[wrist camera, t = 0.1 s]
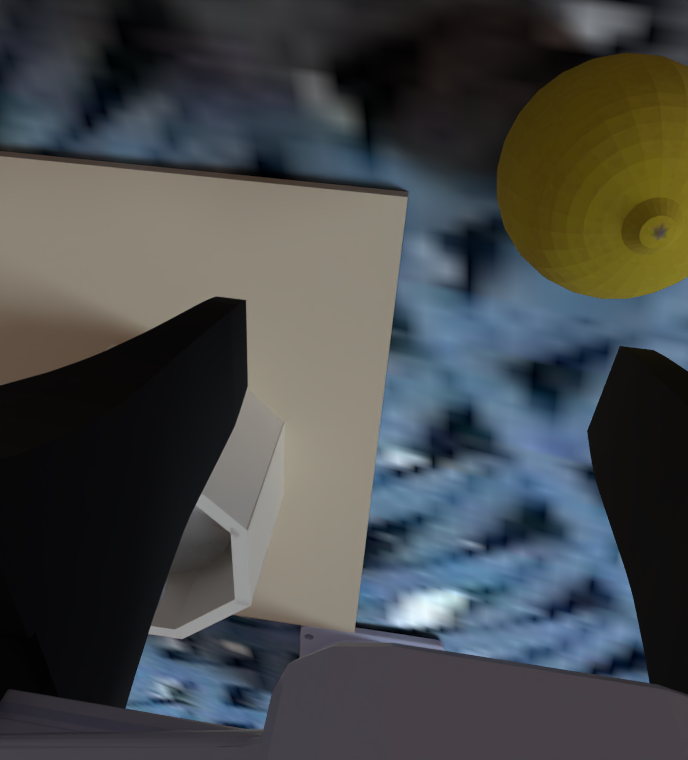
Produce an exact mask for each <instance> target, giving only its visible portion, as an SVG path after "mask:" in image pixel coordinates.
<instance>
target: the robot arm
mask: <svg viewBox="0 0 688 760" xmlns="http://www.w3.org/2000/svg"><path fill="white" fill-rule="evenodd" d="M247 387H248V367H247V321H246V300H242V299H234V298H226V297H218V296H215V297H213V298H210V299H208V300H206V301H204V302H202V303H200V304H198V305H196V306H194V307H192V308H190V309H188V310H186V311H184V312H183V313H181V314H179V315H177V316H175V317H173V318H171V319H169V320H168V321H166V322H164V323H162V324H160V325H158V326H156V327H154V328H152V329H150V330H149V331H147V332H145V333H142V334H140V335H138V336H136V337H134V338H132V339H130V340H127V341H125V342H123V343H121V344H119V345H117V346H115V347H112V348H110V349H108V350H106V351H104V352H101V353H99V354H96V355H94V356H91V357H89V358H86V359H84V360H81V361H78V362H76V363H73V364H70V365H67V366H64V367H62V368H59V369H56V370H53V371H50V372H47V373H43V374H40V375H36V376H32V377H29V378H25V379H22V380H18V381H14V382H11V383H7V384H3V385H0V760H688V371H686V370H685V369H683V368H682V367H680V366H679V365H677V364H676V363H674V362H673V361H671V360H670V359H668V358H667V357H665V356H663V355H661V354H660V353H658V352H656V351H654V350H647V349H639V348H631V347H623V346H620V347H619V350H618V353H617V355H616V358H615V360H614V363H613V366H612V368H611V371H610V373H609V376H608V379H607V381H606V384H605V386H604V389H603V392H602V394H601V397H600V399H599V402H598V405H597V407H596V410H595V412H594V415H593V418H592V420H591V423H590V425H589V428H588V431H587V432H588V440H589V447H590V454H591V460H592V465H593V471H594V476H595V479H596V482H597V486H598V489H599V492H600V495H601V498H602V501H603V504H604V507H605V510H606V513H607V516H608V519H609V522H610V525H611V528H612V531H613V534H614V537H615V540H616V543H617V546H618V549H619V552H620V555H621V558H622V561H623V564H624V567H625V570H626V573H627V577H628V580H629V584H630V587H631V591H632V595H633V599H634V603H635V608H636V613H637V618H638V623H639V628H640V633H641V637H642V642H643V647H644V653H645V659H646V665H647V670H648V676H649V682H650V683H645V682H638V681H632V680H626V679H619V678H613V677H607V676H600V675H594V674H588V673H581V672H575V671H569V670H562V669H556V668H550V667H543V666H537V665H531V664H524V663H518V662H512V661H505V660H499V659H493V658H486V657H480V656H474V655H467V654H461V653H455V652H448V651H444V644H443V642H441V641H439V640H436V639H429V638H422V637H416V636H409V635H403V634H396V633H389V632H383V631H376V630H370V629H363V628H356V627H355V632H354V633H349V632H343V631H336V630H329V629H323V628H316V627H310V626H303V625H301V630H300V657H299V658H298V659H296V660H294V661H292V662H290V663H288V664H287V666H286V668H285V670H284V671H283V673H282V675H281V677H280V679H279V681H278V682H277V684H276V686H275V688H274V690H273V692H272V696H271V700H270V704H269V709H268V713H267V717H266V722H265V726H264V729H242V728H236V727H230V726H224V725H218V724H212V723H206V722H201V721H195V720H189V719H183V718H177V717H171V716H165V715H159V714H153V713H148V712H142V711H136V710H130V709H125V708H126V704H127V701H128V697H129V694H130V691H131V687H132V684H133V680H134V677H135V674H136V671H137V668H138V664H139V661H140V658H141V655H142V652H143V649H144V646H145V642H146V639H147V636H148V633H149V630H150V627H151V623H152V620H153V617H154V614H155V612H156V609H157V606H158V603H159V600H160V597H161V594H162V591H163V588H164V585H165V582H166V579H167V576H168V574H169V571H170V568H171V565H172V562H173V560H174V557H175V554H176V552H177V549H178V546H179V543H180V541H181V538H182V535H183V532H184V530H185V527H186V525H187V523H188V521H189V518H190V516H191V514H192V512H193V509H194V507H195V505H196V503H197V501H198V499H199V497H200V495H201V493H202V491H203V489H204V487H205V485H206V483H207V481H208V479H209V477H210V475H211V473H212V471H213V469H214V467H215V465H216V463H217V462H218V460H219V458H220V456H221V453H222V451H223V449H224V447H225V445H226V443H227V441H228V439H229V437H230V435H231V433H232V431H233V429H234V427H235V424H236V421H237V418H238V416H239V413H240V410H241V407H242V403H243V400H244V397H245V394H246V391H247Z"/></svg>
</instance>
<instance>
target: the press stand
mask: <svg viewBox="0 0 688 760" xmlns="http://www.w3.org/2000/svg"><path fill="white" fill-rule="evenodd" d="M407 199H408V192H406V191H396V190H386V189H376V188H366V187H356V186H346V185H336V184H326V183H316V182H306V181H296V180H286V179H276V178H266V177H256V176H246V175H236V174H226V173H216V172H206V171H196V170H186V169H176V168H166V167H156V166H146V165H136V164H126V163H116V162H106V161H96V160H86V159H76V158H66V157H56V156H46V155H36V154H26V153H16V152H6V151H0V385H3V384H7V383H11V382H14V381H18V380H22V379H25V378H29V377H32V376H36V375H40V374H43V373H47V372H50V371H53V370H56V369H59V368H62V367H64V366H67V365H70V364H73V363H76V362H78V361H81V360H84V359H86V358H89V357H91V356H94V355H96V354H99V353H101V352H104V351H106V350H108V349H110V348H112V347H115V346H117V345H119V344H121V343H123V342H125V341H127V340H130V339H132V338H134V337H136V336H138V335H140V334H142V333H145V332H147V331H149V330H150V329H152V328H154V327H156V326H158V325H160V324H162V323H164V322H166V321H168V320H169V319H171V318H173V317H175V316H177V315H179V314H181V313H183V312H184V311H186V310H188V309H190V308H192V307H194V306H196V305H198V304H200V303H202V302H204V301H206V300H208V299H210V298H213V297H215V296H218V297H226V298H234V299H242V300H246V321H247V367H248V387H247V391H246V394H245V397H244V400H243V403H242V407H241V410H240V413H239V416H238V418H237V421H236V424H235V427H234V429H233V431H232V433H231V435H230V437H229V439H228V441H227V443H226V445H225V447H224V449H223V451H222V453H221V456H220V458H219V460H218V462H217V463H216V465H215V467H214V469H213V471H212V473H211V475H210V477H209V479H208V481H207V483H206V485H205V487H204V489H203V491H202V493H201V495H200V497H199V499H198V501H197V503H196V506H197V507H199V508H200V509H201V510H202V511H204V512H205V513H206V514H207V515H209V516H210V517H211V518H212V519H214V520H215V521H216V522H217V523H219V524H220V525H221V526H222V527H223V528H225V529H226V530H227V531H228V532H230V533H231V539H230V541H229V543H228V546H227V547H226V549H225V550H224V552H223V553H222V554H221V555H220V556H219V557H218V558H217V559H216V560H214V561H213V562H211V563H210V564H208V565H206V566H203V567H201V568H198V569H195V570H192V571H187V572H182V573H169V574H168V576H167V577H168V588H167V591H166V593H165V595H164V598H163V600H162V602H161V604H160V606H159V608H158V609H157V610H156V612H155V614H154V617H153V620H152V623H151V627H150V630H149V633H148V634H152V635H158V636H165V637H171V638H177V639H184V638H186V637H188V636H190V635H192V634H194V633H196V632H198V631H200V630H202V629H204V628H206V627H208V626H210V625H212V624H214V623H216V622H218V621H220V620H223V619H225V618H227V617H229V616H231V615H237V616H244V617H250V618H257V619H264V620H270V621H277V622H283V623H290V624H297V625H303V626H310V627H316V628H323V629H329V630H336V631H343V632H349V633H354V632H355V624H356V616H357V608H358V600H359V592H360V583H361V575H362V567H363V559H364V551H365V543H366V534H367V526H368V518H369V510H370V502H371V493H372V485H373V477H374V469H375V461H376V453H377V444H378V436H379V428H380V420H381V412H382V404H383V395H384V387H385V379H386V371H387V363H388V355H389V346H390V338H391V330H392V322H393V314H394V306H395V297H396V289H397V281H398V273H399V265H400V256H401V248H402V240H403V232H404V224H405V216H406V207H407Z"/></svg>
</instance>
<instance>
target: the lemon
mask: <svg viewBox="0 0 688 760" xmlns="http://www.w3.org/2000/svg"><path fill="white" fill-rule="evenodd" d="M497 200H498V205H499V208H500V212H501V216H502V220H503V224H504V227H505V229H506V231H507V233H508V235H509V236H510V238H511V240H512V241H513V243H514V245H515V247H516V248H517V250H518V252H519V253H520V254H521V256H522V257H523V258H524V259H525V260H527V261H528V262H529V263H530V264H531V265H532V266H533V267H534V268H535V269H536V270H537V271H538V272H539V273H540V274H541V275H543V276H544V277H545V278H547V279H548V280H550V281H552V282H554V283H556V284H558V285H560V286H562V287H564V288H566V289H568V290H570V291H572V292H575V293H579V294H583V295H588V296H592V297H596V298H602V299H628V298H632V297H637V296H642V295H646V294H651V293H654V292H657V291H659V290H661V289H664V288H666V287H668V286H671V285H673V284H676V283H678V282H680V281H681V280H683V279H684V278H686V277H687V276H688V66H685V65H683V64H680V63H678V62H675V61H673V60H670V59H668V58H665V57H662V56H658V55H646V54H635V53H621V54H616V55H611V56H606V57H600V58H595V59H591V60H589V61H587V62H585V63H583V64H580V65H578V66H576V67H574V68H571V69H569V70H567V71H565V72H563V73H561V74H560V75H558V76H557V77H556V78H554V79H553V80H552V81H551V82H549V83H548V84H547V85H545V86H544V87H543V88H541V89H540V90H539V91H537V93H536V94H535V95H534V96H533V97H532V99H531V100H530V101H529V102H528V103H527V104H526V106H525V107H524V108H523V109H522V110H521V111H520V113H519V114H518V116H517V118H516V120H515V122H514V124H513V125H512V127H511V129H510V131H509V133H508V135H507V137H506V139H505V141H504V145H503V149H502V152H501V156H500V160H499V163H498V167H497Z"/></svg>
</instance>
